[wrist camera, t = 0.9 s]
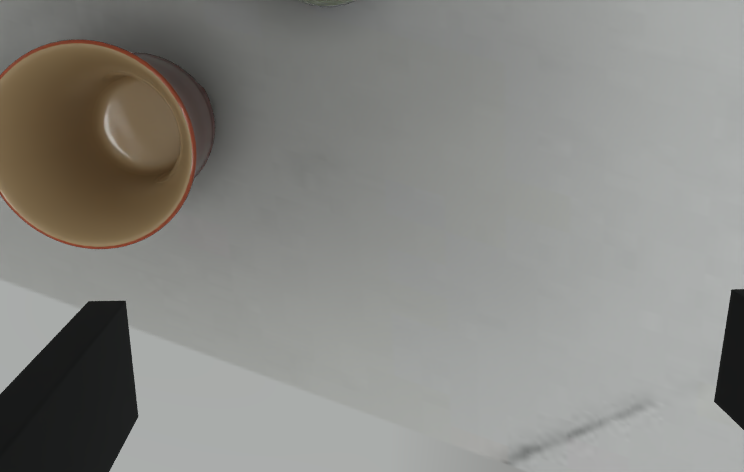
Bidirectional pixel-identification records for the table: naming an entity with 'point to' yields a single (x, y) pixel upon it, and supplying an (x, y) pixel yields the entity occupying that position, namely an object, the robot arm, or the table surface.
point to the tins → (327, 2)
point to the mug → (100, 141)
